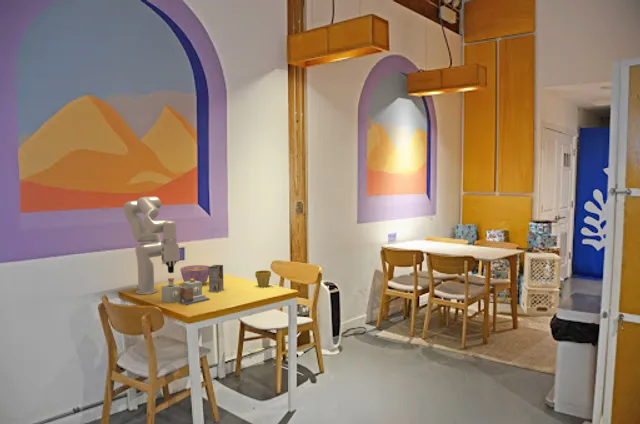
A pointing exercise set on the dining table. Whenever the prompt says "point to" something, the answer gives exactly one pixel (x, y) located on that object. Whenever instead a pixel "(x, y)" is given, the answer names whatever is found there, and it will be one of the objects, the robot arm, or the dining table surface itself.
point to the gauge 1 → (171, 282)
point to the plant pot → (263, 278)
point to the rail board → (195, 300)
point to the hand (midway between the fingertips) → (170, 272)
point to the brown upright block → (186, 294)
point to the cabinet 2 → (194, 287)
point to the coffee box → (216, 278)
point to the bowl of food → (195, 273)
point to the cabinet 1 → (170, 293)
